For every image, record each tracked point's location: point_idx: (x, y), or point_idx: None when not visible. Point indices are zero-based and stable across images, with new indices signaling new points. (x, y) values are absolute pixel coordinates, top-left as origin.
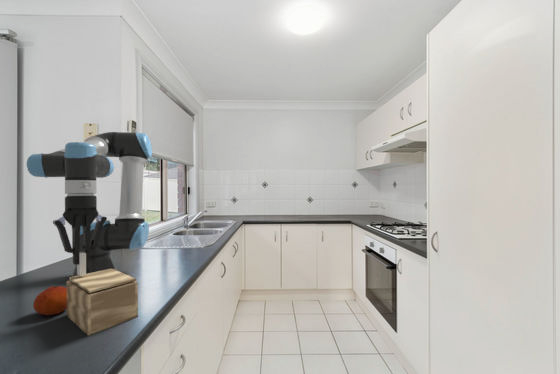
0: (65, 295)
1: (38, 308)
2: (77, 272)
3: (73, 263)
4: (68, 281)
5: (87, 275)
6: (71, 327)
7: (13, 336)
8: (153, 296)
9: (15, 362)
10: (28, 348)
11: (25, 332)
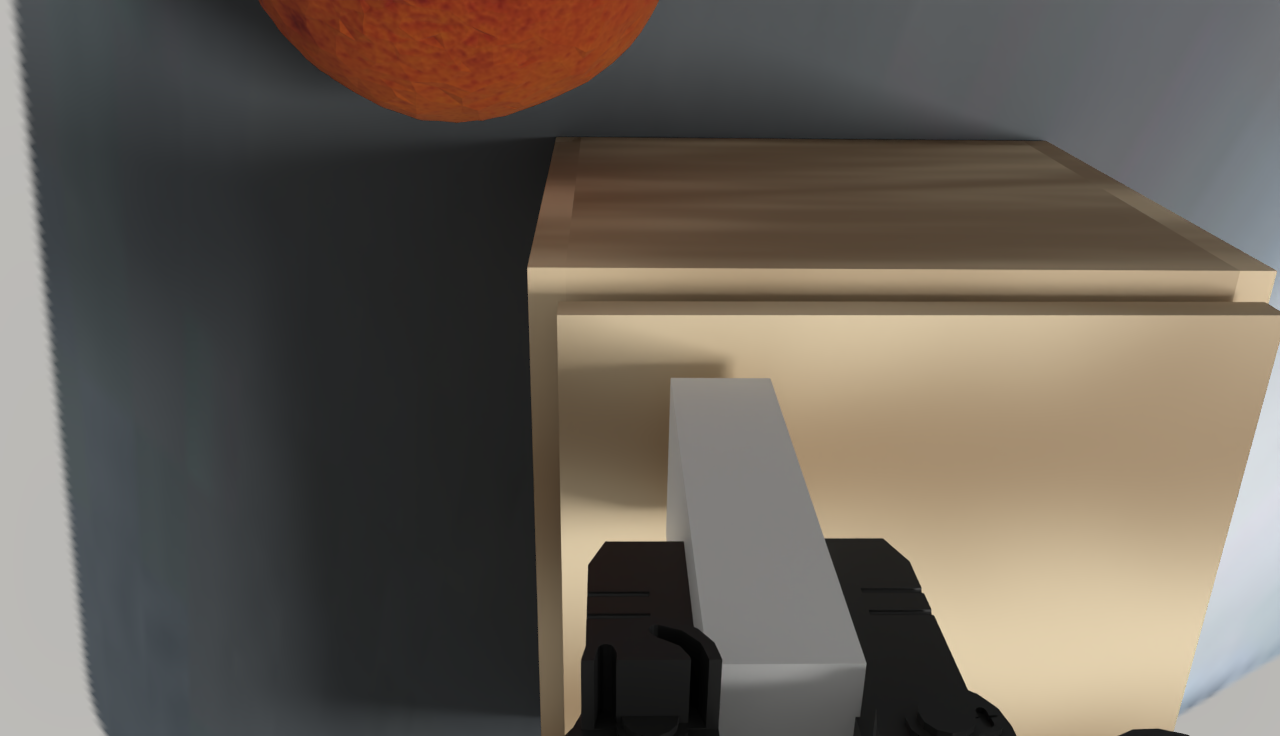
0: (550, 88)
1: None
2: (671, 422)
3: (597, 559)
4: (546, 299)
5: (802, 444)
6: (517, 475)
7: (102, 241)
8: None
9: (143, 708)
10: (211, 581)
11: (191, 238)
